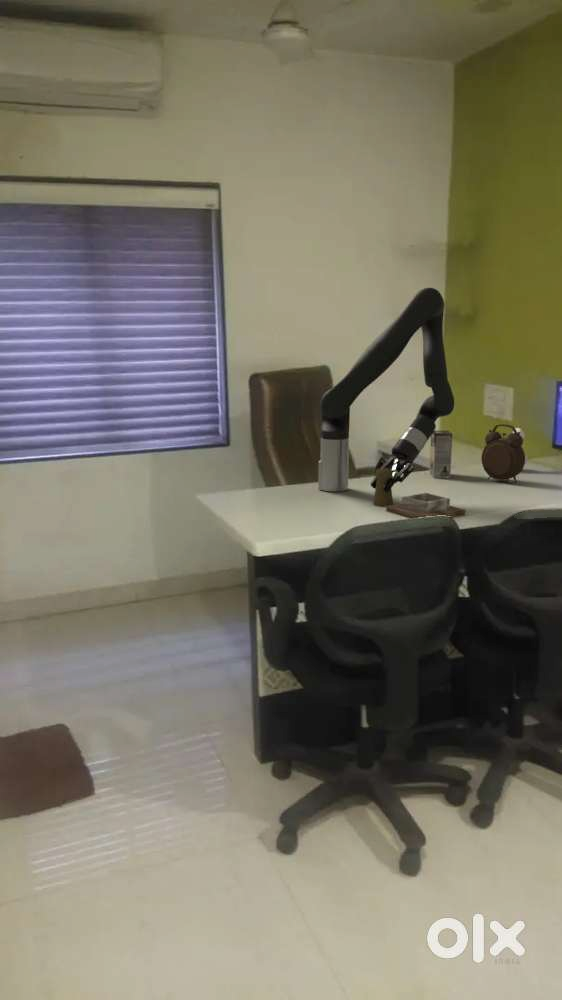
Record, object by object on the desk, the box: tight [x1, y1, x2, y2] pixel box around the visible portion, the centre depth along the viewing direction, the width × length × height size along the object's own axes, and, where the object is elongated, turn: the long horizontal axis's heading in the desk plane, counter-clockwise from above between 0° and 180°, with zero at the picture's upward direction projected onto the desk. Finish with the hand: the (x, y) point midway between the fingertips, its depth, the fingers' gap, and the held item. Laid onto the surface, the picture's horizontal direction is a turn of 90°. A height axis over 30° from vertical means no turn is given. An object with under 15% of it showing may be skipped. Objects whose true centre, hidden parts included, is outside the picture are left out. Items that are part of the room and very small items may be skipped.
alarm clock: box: [481, 423, 526, 484], centre depth 265 cm, size 15×7×20 cm, turn 40°
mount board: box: [385, 492, 466, 519], centre depth 222 cm, size 16×16×4 cm
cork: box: [372, 468, 394, 507], centre depth 232 cm, size 6×6×11 cm
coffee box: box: [429, 430, 453, 479], centre depth 275 cm, size 9×6×16 cm
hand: (378, 488), depth 231 cm, fingers closed on cork, 5 cm apart
